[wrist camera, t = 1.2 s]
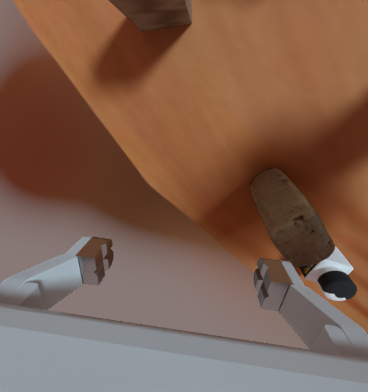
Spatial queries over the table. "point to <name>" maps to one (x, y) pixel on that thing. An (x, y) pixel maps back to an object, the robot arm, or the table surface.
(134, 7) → the slab
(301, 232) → the block
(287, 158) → the table surface
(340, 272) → the medicine bottle
